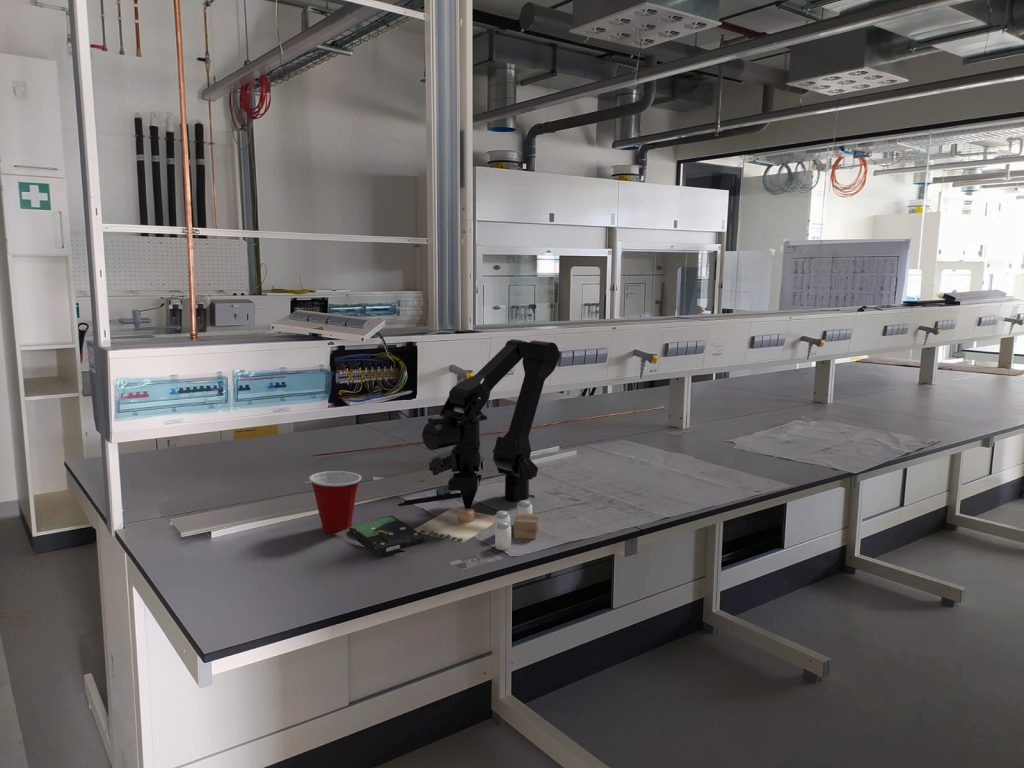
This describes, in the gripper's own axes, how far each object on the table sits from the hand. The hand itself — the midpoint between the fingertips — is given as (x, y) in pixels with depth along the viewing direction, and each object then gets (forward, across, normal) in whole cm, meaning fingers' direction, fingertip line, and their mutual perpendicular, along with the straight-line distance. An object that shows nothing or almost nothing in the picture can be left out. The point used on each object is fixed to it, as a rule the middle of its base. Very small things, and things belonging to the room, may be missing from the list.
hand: (467, 508), depth 162 cm
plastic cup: (+2, +9, -27) cm, 29 cm away
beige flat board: (+2, +7, -1) cm, 7 cm away
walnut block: (+2, +12, +14) cm, 18 cm away
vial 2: (+2, +19, +9) cm, 21 cm away
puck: (+1, +4, 0) cm, 5 cm away
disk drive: (+2, +15, -15) cm, 21 cm away
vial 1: (+2, +13, +9) cm, 16 cm away
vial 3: (+2, +6, +13) cm, 15 cm away
